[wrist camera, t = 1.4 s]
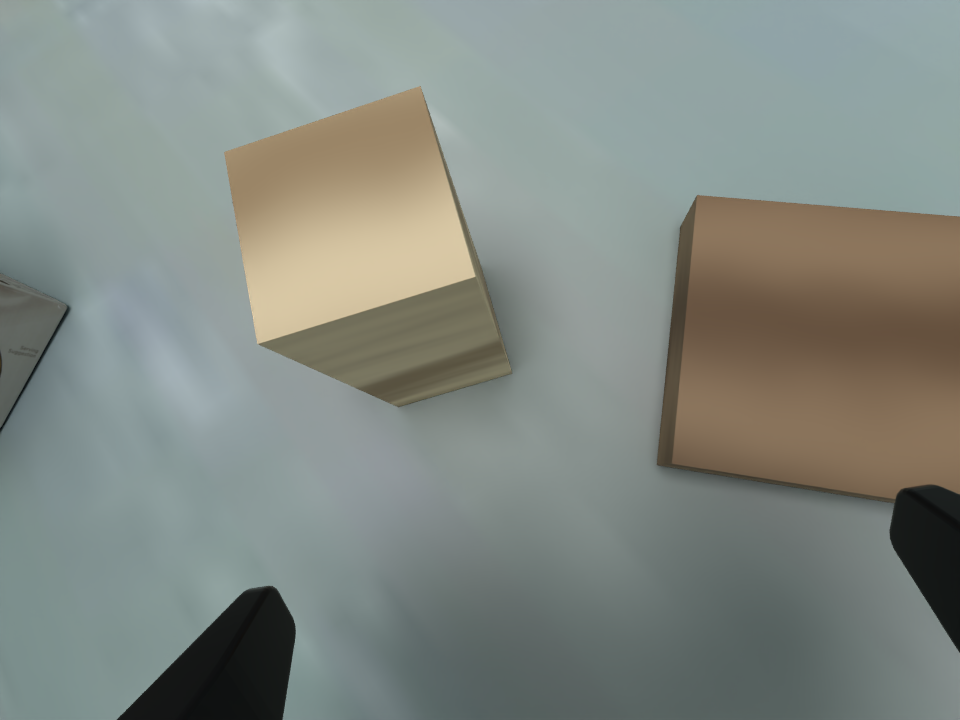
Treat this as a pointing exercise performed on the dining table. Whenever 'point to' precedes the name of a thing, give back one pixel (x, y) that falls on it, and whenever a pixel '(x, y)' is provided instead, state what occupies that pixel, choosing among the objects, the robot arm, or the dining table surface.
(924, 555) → the robot arm
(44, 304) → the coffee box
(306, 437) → the dining table surface
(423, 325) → the maple block
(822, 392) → the walnut slab
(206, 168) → the dining table surface
